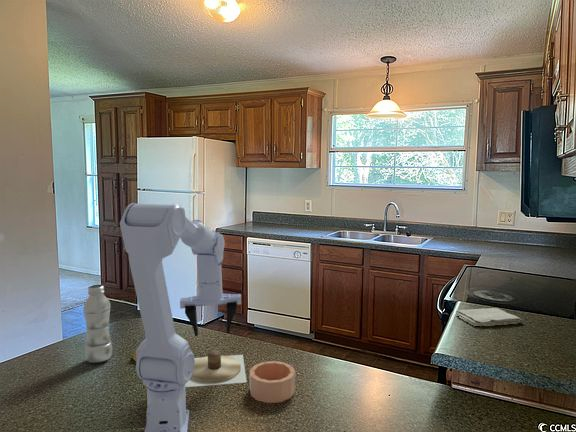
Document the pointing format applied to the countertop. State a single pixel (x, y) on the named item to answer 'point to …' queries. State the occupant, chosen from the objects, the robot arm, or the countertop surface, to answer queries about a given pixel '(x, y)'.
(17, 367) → the countertop surface
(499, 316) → the washcloth
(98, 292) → the plastic bottle
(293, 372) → the bowl
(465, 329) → the countertop surface
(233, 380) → the mat
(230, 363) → the lid
